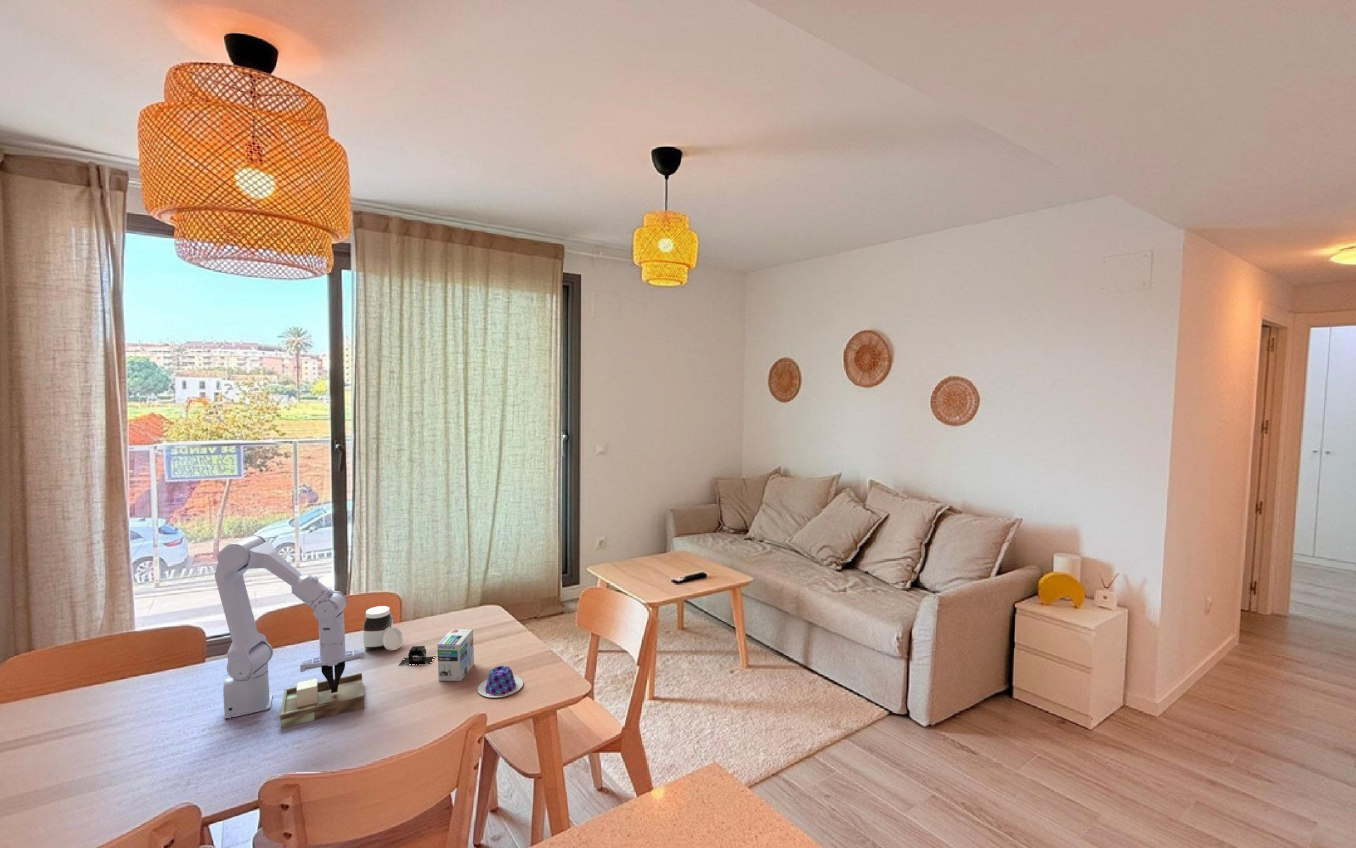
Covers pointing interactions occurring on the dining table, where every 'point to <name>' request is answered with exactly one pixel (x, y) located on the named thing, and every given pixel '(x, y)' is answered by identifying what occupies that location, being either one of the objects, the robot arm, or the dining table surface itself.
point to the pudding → (500, 682)
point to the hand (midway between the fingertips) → (334, 690)
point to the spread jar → (381, 630)
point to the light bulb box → (455, 655)
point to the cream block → (307, 692)
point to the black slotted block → (417, 660)
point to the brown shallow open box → (323, 701)
